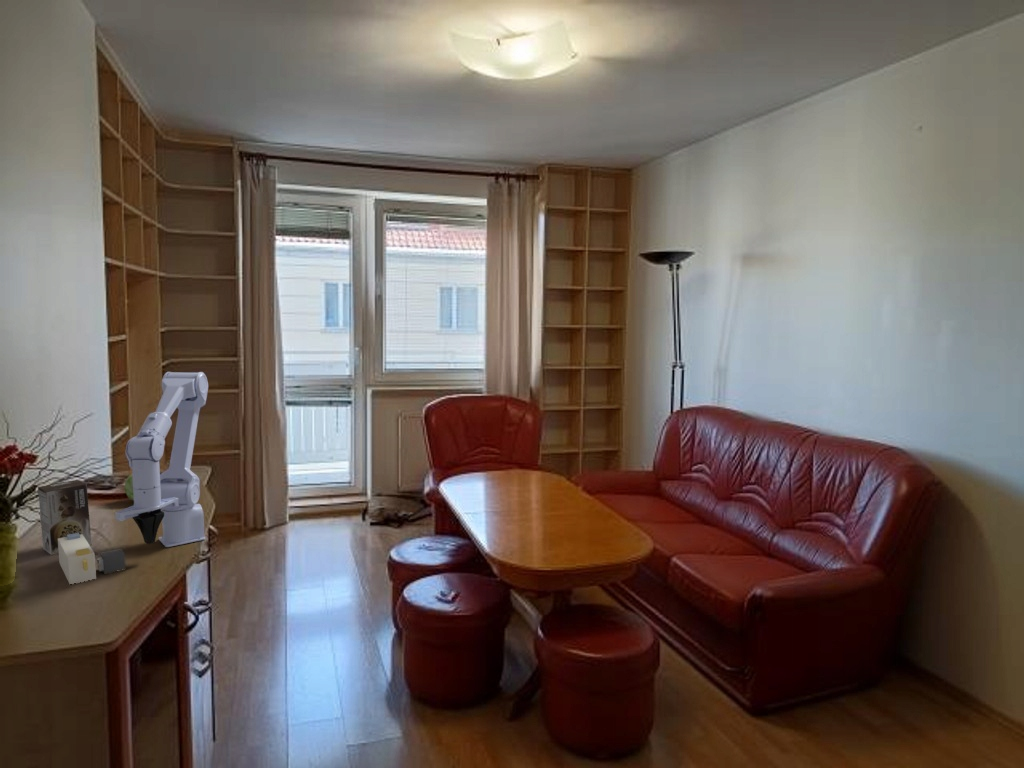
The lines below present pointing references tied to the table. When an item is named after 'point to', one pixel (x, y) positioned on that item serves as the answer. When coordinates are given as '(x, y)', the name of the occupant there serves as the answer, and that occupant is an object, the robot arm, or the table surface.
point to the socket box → (76, 558)
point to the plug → (111, 561)
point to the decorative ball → (129, 487)
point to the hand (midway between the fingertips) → (149, 542)
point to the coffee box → (63, 512)
